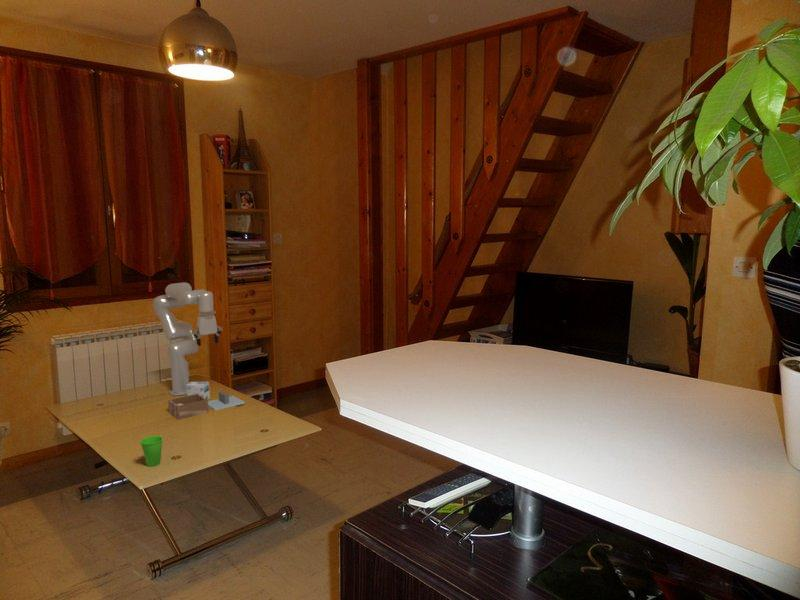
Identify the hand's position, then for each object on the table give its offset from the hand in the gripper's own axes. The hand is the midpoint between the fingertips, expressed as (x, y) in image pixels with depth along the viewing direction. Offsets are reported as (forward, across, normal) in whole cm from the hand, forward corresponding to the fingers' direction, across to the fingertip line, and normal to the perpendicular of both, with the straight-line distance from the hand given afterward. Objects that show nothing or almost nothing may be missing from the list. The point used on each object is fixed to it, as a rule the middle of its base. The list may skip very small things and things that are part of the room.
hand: (207, 344), depth 306 cm
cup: (+32, +49, +61) cm, 85 cm away
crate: (+34, +16, +10) cm, 39 cm away
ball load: (+33, +19, +7) cm, 39 cm away
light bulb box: (+35, +4, -8) cm, 36 cm away
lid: (+34, -4, +10) cm, 36 cm away
